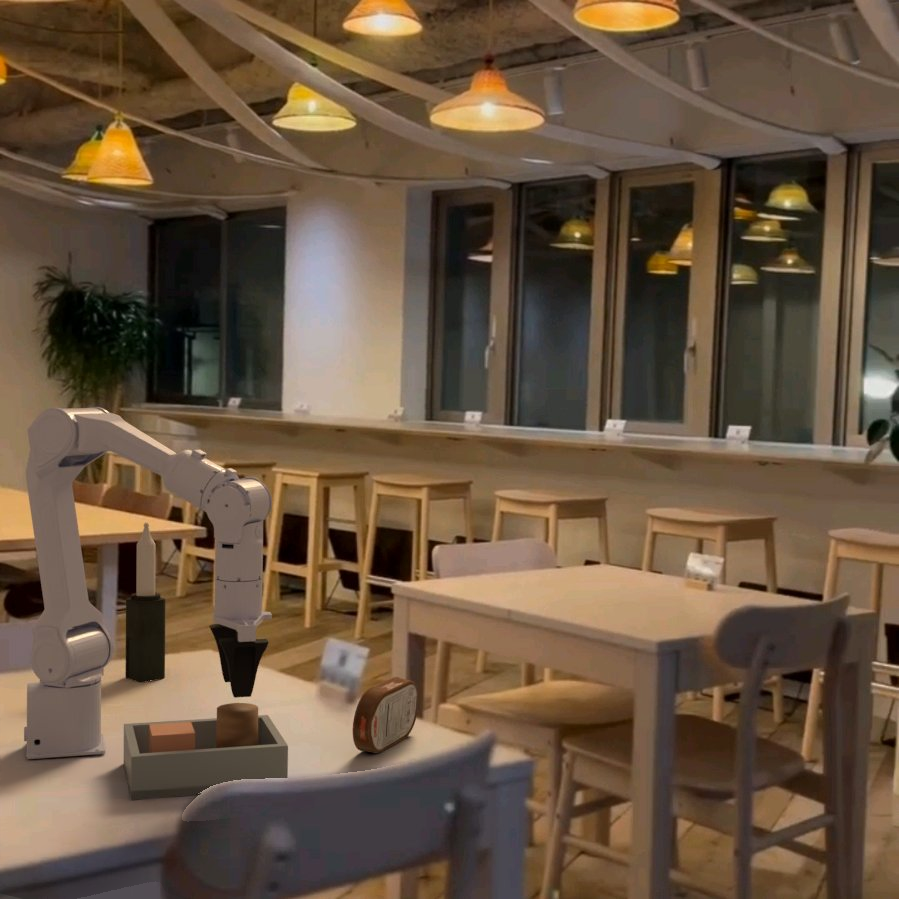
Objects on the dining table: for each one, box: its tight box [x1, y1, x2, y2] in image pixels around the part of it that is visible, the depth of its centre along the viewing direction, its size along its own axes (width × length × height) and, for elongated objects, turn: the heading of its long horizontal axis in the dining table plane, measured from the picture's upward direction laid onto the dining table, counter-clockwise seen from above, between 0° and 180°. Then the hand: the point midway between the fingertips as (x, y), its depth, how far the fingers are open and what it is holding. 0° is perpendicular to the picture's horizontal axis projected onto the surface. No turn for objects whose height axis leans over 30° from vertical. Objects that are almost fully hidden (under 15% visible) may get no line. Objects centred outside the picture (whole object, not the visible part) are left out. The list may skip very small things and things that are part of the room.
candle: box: [124, 522, 166, 683], centre depth 199 cm, size 5×5×25 cm
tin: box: [352, 676, 419, 754], centre depth 166 cm, size 15×3×8 cm, turn 156°
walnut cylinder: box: [216, 702, 259, 748], centre depth 152 cm, size 5×5×7 cm
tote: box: [123, 714, 289, 801], centre depth 151 cm, size 18×14×5 cm
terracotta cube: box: [149, 722, 195, 753], centre depth 150 cm, size 5×5×5 cm
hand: (237, 688), depth 152 cm, fingers open, 7 cm apart
